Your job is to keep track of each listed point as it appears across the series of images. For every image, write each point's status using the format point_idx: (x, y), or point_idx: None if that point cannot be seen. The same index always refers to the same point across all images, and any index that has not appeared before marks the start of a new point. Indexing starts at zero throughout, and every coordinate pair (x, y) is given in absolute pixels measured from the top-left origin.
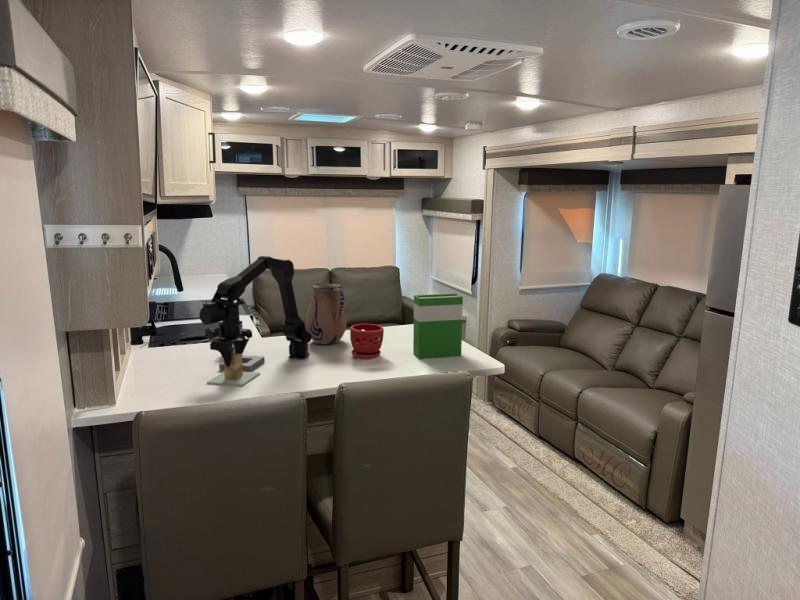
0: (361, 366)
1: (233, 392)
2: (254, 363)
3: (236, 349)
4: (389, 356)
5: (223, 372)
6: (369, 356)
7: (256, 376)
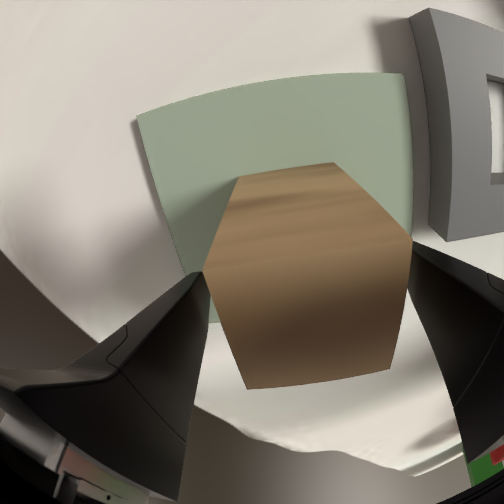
0: (447, 426)
1: None
2: (489, 233)
3: (464, 313)
4: None
5: (357, 79)
6: None
7: None
